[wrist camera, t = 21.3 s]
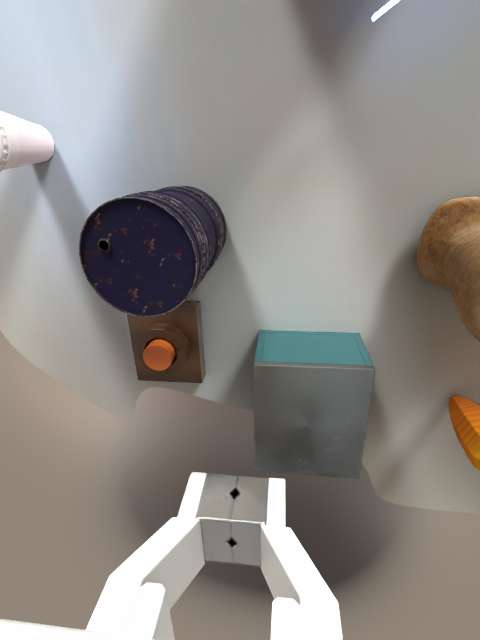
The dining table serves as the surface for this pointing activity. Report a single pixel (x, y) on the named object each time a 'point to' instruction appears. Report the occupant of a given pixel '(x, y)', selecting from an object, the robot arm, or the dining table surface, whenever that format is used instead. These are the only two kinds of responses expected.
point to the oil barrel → (151, 248)
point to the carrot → (467, 426)
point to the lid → (311, 417)
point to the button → (159, 354)
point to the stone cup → (455, 255)
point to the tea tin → (311, 348)
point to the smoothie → (23, 142)
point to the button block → (181, 333)
